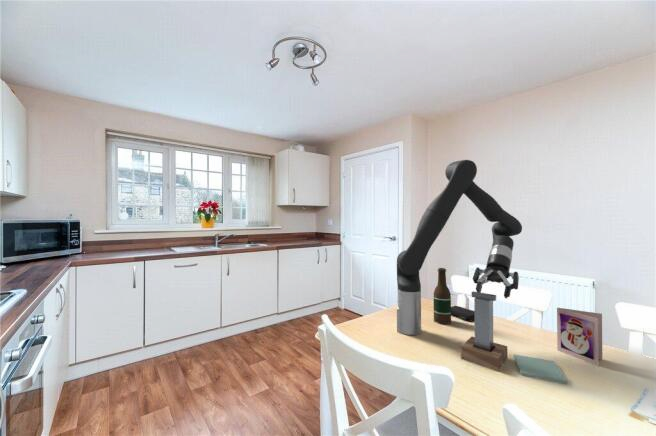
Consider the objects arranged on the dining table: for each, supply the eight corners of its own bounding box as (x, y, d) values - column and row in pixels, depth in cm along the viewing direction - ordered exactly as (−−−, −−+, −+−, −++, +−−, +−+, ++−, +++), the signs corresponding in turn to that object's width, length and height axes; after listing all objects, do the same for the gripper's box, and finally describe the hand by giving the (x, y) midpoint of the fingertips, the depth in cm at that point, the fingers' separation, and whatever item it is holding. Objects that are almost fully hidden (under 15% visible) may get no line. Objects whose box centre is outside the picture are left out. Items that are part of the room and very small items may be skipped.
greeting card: (555, 350, 96) (555, 307, 96) (569, 347, 99) (568, 305, 99) (596, 366, 86) (596, 318, 86) (610, 362, 88) (610, 315, 88)
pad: (521, 374, 81) (521, 372, 81) (513, 356, 92) (513, 354, 92) (568, 384, 77) (568, 381, 77) (554, 363, 88) (554, 360, 88)
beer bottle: (454, 324, 120) (454, 270, 120) (437, 324, 120) (436, 270, 120) (447, 318, 128) (446, 266, 128) (430, 318, 128) (430, 266, 128)
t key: (474, 352, 95) (474, 290, 95) (498, 359, 90) (497, 294, 90) (470, 357, 92) (470, 292, 92) (494, 364, 87) (493, 297, 87)
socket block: (471, 347, 99) (471, 336, 99) (507, 358, 91) (507, 346, 91) (460, 358, 91) (460, 346, 91) (498, 371, 83) (498, 358, 83)
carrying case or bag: (441, 313, 135) (469, 323, 122) (441, 307, 135) (469, 317, 122) (455, 310, 140) (483, 319, 127) (455, 304, 140) (483, 312, 127)
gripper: (477, 251, 110) (467, 285, 101) (520, 254, 100) (513, 292, 91) (481, 263, 113) (472, 296, 105) (523, 267, 103) (517, 304, 95)
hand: (491, 294), depth 98 cm, fingers open, 8 cm apart
